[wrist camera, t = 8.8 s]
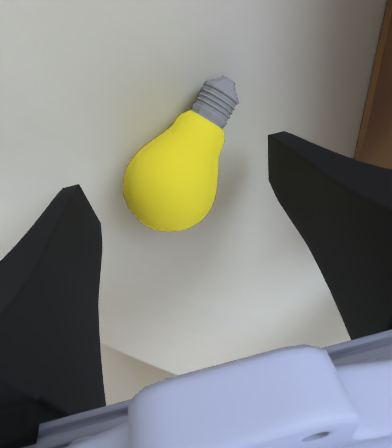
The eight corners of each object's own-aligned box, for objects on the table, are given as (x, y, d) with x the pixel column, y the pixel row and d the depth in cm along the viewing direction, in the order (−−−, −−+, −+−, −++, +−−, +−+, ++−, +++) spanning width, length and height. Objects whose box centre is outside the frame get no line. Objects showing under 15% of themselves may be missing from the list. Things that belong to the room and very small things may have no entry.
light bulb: (116, 193, 13) (98, 219, 10) (183, 61, 12) (188, 39, 9) (184, 228, 14) (188, 262, 11) (255, 107, 13) (285, 104, 9)
